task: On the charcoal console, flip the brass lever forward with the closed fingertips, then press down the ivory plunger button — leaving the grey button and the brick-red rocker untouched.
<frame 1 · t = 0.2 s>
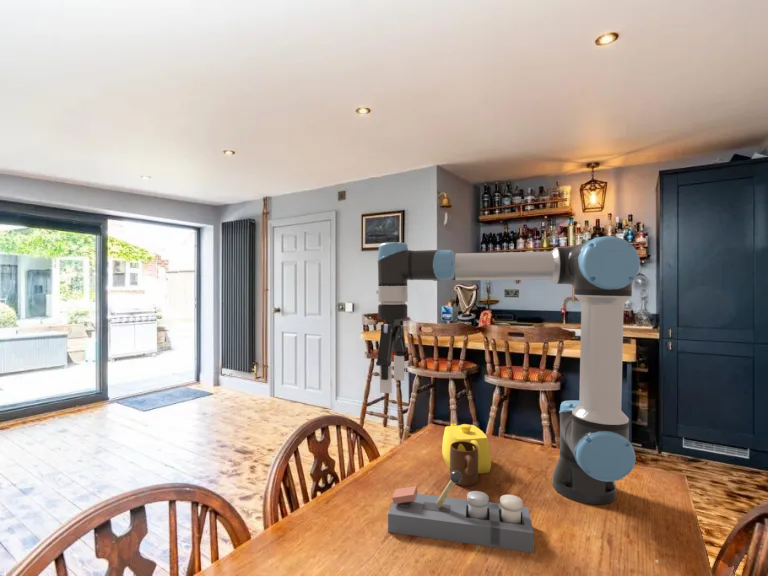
hand: (392, 385, 106), 28 cm above the table, fingers open, 13 cm apart
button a: (511, 510, 89), point 5 cm above the table, slide at 0.0 cm
lever: (448, 488, 92), point 9 cm above the table, hinge at -30.0°
mug: (465, 484, 111), on the table, touching teapot
button b: (477, 506, 90), point 5 cm above the table, slide at 0.0 cm
teapot: (464, 463, 124), on the table, touching mug
console: (459, 528, 91), on the table
rocker: (405, 494, 94), point 6 cm above the table, hinge at 15.0°
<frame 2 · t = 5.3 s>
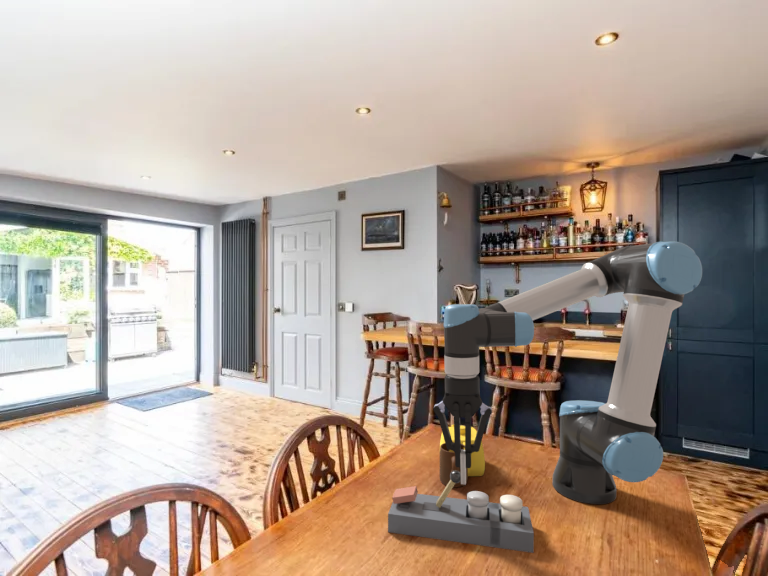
hand: (463, 481, 91), 11 cm above the table, fingers closed
lever: (448, 488, 92), point 9 cm above the table, hinge at -29.8°, touching gripper
mug: (453, 486, 111), on the table, touching teapot
teapot: (460, 465, 123), on the table, touching mug
everything else where it was.
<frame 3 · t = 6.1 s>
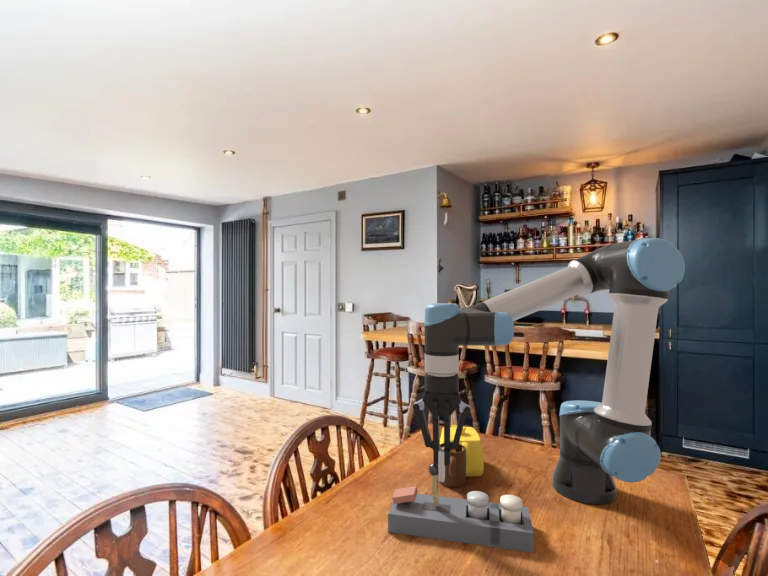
hand: (441, 478, 92), 11 cm above the table, fingers closed
lever: (435, 483, 92), point 9 cm above the table, hinge at 3.8°, touching gripper
mug: (452, 486, 111), on the table, touching teapot
teapot: (459, 465, 123), on the table, touching mug
everything else where it was.
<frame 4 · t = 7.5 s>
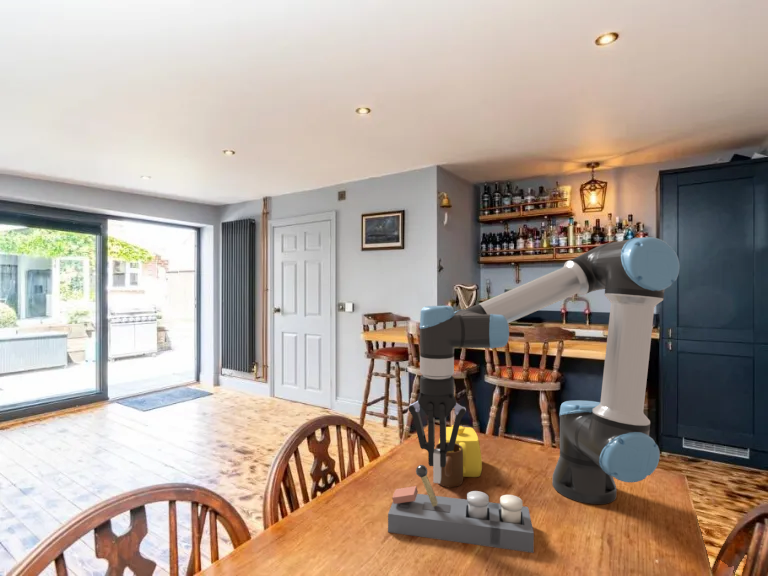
hand: (437, 480, 92), 10 cm above the table, fingers closed
lever: (427, 484, 93), point 9 cm above the table, hinge at 23.3°
mug: (448, 486, 111), on the table, touching teapot
teapot: (458, 466, 123), on the table, touching mug
everything else where it was.
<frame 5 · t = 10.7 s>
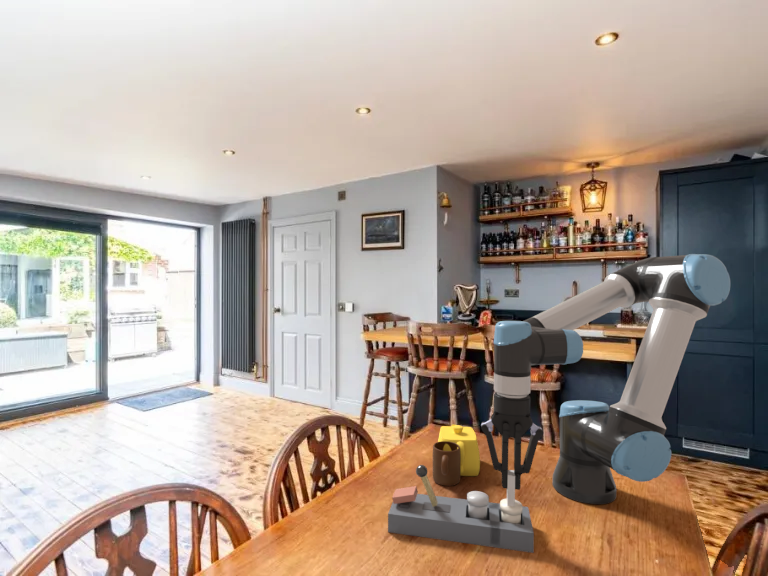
hand: (510, 502, 89), 7 cm above the table, fingers closed
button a: (511, 514, 89), point 4 cm above the table, slide at 0.8 cm, touching gripper
teapot: (457, 465, 123), on the table, touching mug
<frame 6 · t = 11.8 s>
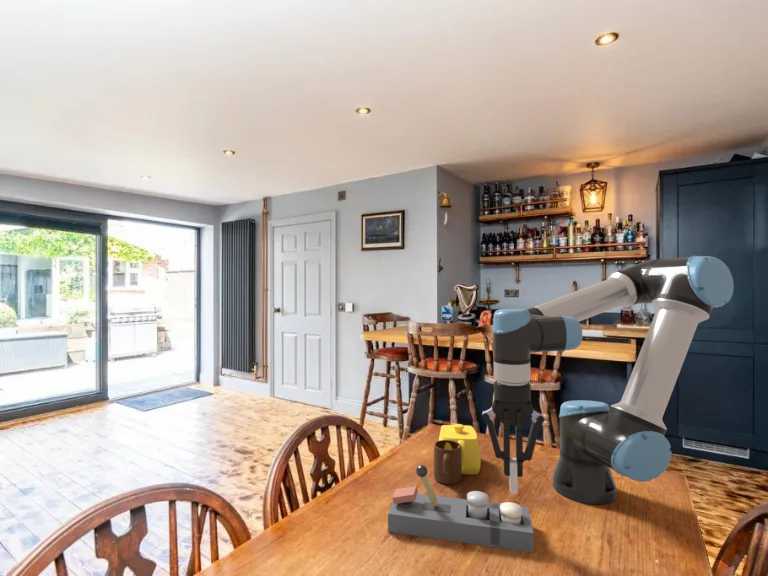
hand: (513, 490, 89), 10 cm above the table, fingers closed
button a: (511, 518, 89), point 4 cm above the table, slide at 1.6 cm
mug: (447, 483, 112), on the table, touching teapot
teapot: (458, 463, 124), on the table, touching mug
everything else where it was.
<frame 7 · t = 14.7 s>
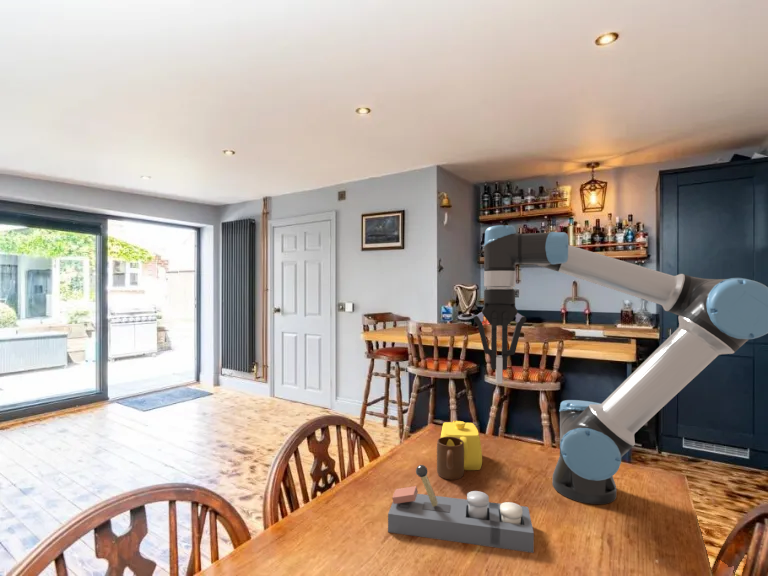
hand: (499, 382, 103), 29 cm above the table, fingers closed
mug: (450, 478, 115), on the table, touching teapot
teapot: (459, 460, 127), on the table, touching mug
everything else where it was.
at the end: lever at +23° (first picture: -30°); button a slide at 1.6 cm; button b slide at 0.0 cm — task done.
